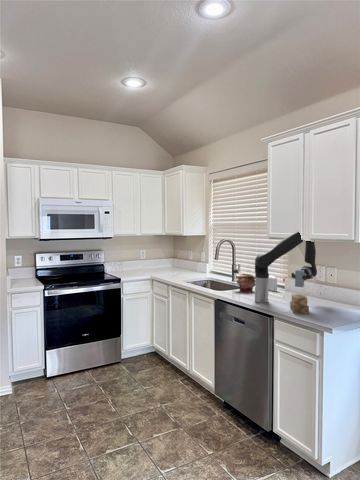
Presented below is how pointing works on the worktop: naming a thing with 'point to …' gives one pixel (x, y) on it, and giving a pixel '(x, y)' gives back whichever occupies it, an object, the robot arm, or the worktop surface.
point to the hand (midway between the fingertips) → (298, 277)
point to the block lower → (299, 309)
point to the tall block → (299, 278)
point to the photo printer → (272, 283)
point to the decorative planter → (246, 282)
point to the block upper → (299, 300)
